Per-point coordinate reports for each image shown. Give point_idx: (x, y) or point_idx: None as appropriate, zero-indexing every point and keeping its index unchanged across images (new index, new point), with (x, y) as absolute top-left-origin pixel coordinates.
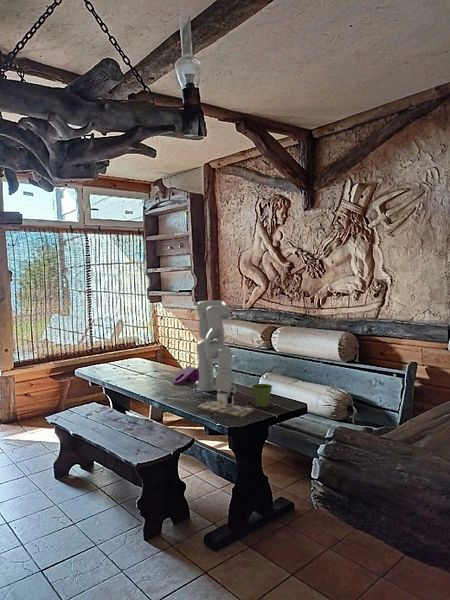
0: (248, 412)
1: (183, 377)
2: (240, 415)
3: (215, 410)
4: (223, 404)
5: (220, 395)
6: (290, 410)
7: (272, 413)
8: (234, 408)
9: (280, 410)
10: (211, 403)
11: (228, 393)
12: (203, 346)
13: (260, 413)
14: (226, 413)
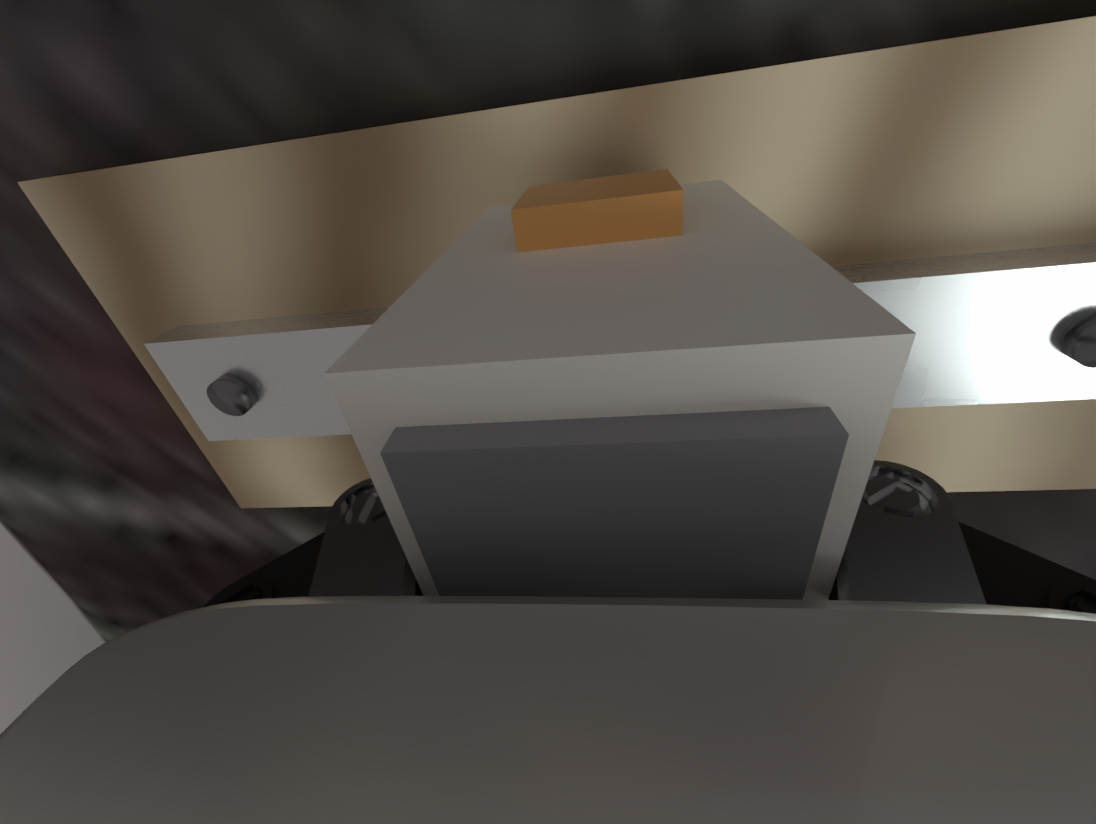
0: (155, 372)
1: None
2: (73, 174)
3: (712, 75)
4: (509, 225)
5: (613, 315)
6: (98, 628)
7: (69, 514)
8: (334, 324)
9: (135, 600)
10: (1010, 292)
11: (364, 578)
12: None
13: (123, 455)
14: (397, 123)
